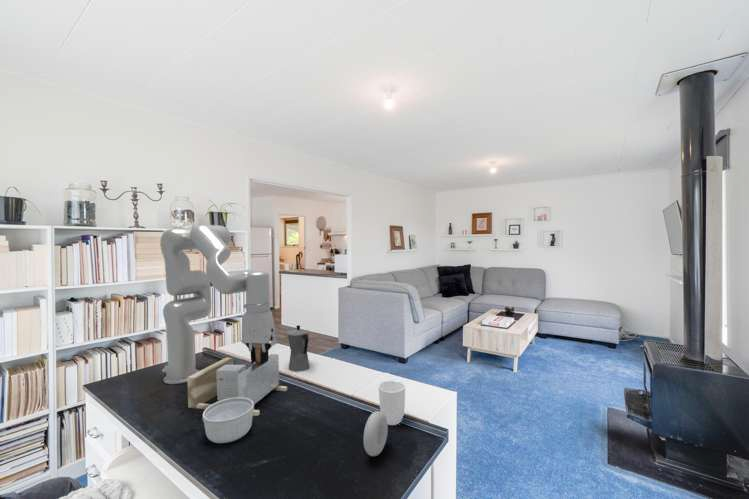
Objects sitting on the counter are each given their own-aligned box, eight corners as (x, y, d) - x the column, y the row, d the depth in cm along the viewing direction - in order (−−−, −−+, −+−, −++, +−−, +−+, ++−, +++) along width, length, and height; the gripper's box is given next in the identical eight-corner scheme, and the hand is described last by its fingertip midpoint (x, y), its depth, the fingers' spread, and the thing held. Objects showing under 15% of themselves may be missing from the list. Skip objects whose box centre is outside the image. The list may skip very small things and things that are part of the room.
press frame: (188, 407, 106) (187, 377, 106) (227, 383, 124) (226, 357, 124) (256, 416, 100) (256, 384, 100) (287, 389, 118) (286, 362, 118)
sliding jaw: (237, 408, 102) (235, 346, 101) (270, 383, 120) (269, 330, 119) (248, 410, 101) (247, 347, 100) (280, 384, 119) (279, 331, 118)
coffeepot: (282, 365, 142) (281, 324, 141) (302, 360, 147) (301, 320, 147) (297, 376, 129) (296, 331, 129) (318, 370, 135) (317, 327, 135)
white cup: (408, 414, 99) (407, 382, 99) (402, 428, 92) (401, 393, 92) (383, 410, 102) (383, 379, 102) (375, 424, 94) (375, 390, 94)
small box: (247, 393, 115) (246, 364, 115) (239, 401, 110) (238, 370, 109) (225, 393, 116) (225, 364, 116) (216, 400, 110) (215, 370, 110)
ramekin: (221, 453, 83) (220, 426, 83) (193, 437, 90) (192, 412, 90) (264, 427, 94) (263, 403, 94) (235, 415, 101) (235, 393, 101)
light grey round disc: (378, 439, 87) (377, 403, 87) (390, 443, 85) (389, 405, 85) (361, 463, 78) (360, 422, 78) (374, 467, 76) (373, 425, 76)
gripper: (229, 309, 108) (231, 364, 108) (273, 311, 104) (275, 368, 104) (244, 305, 115) (245, 356, 115) (285, 306, 111) (287, 360, 111)
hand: (259, 361), depth 110 cm, fingers closed on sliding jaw, 3 cm apart
